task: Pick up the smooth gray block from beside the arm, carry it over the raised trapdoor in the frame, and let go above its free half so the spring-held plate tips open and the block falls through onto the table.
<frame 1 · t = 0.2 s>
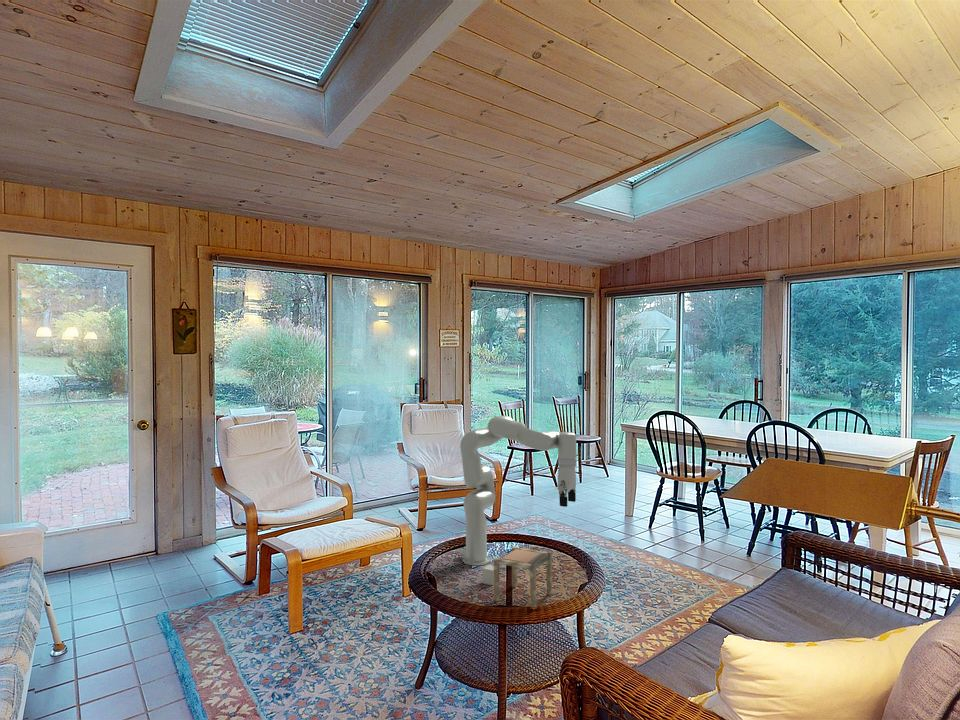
hand: (567, 503, 221), 31 cm above the table, tool pointing down, fingers open, 9 cm apart
trapdoor: (523, 556, 202), point 15 cm above the table, hinge at 0.0°
trapdoor frame: (523, 597, 202), on the table
smooth gray block: (490, 582, 217), on the table
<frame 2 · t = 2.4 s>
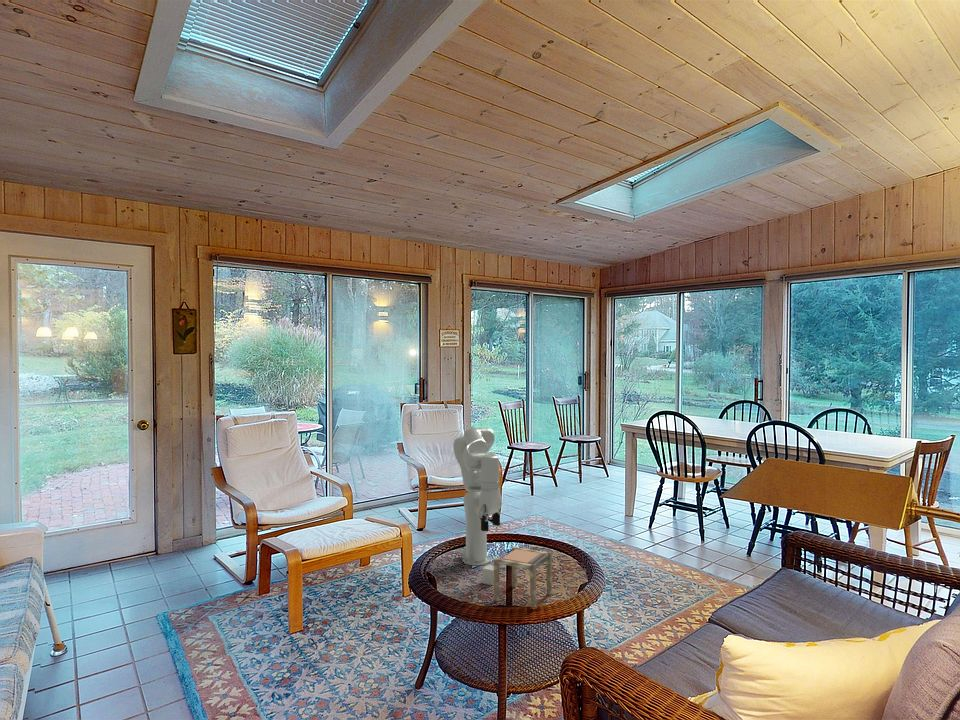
hand: (490, 528, 217), 22 cm above the table, tool pointing down, fingers open, 9 cm apart
nothing on the table moved.
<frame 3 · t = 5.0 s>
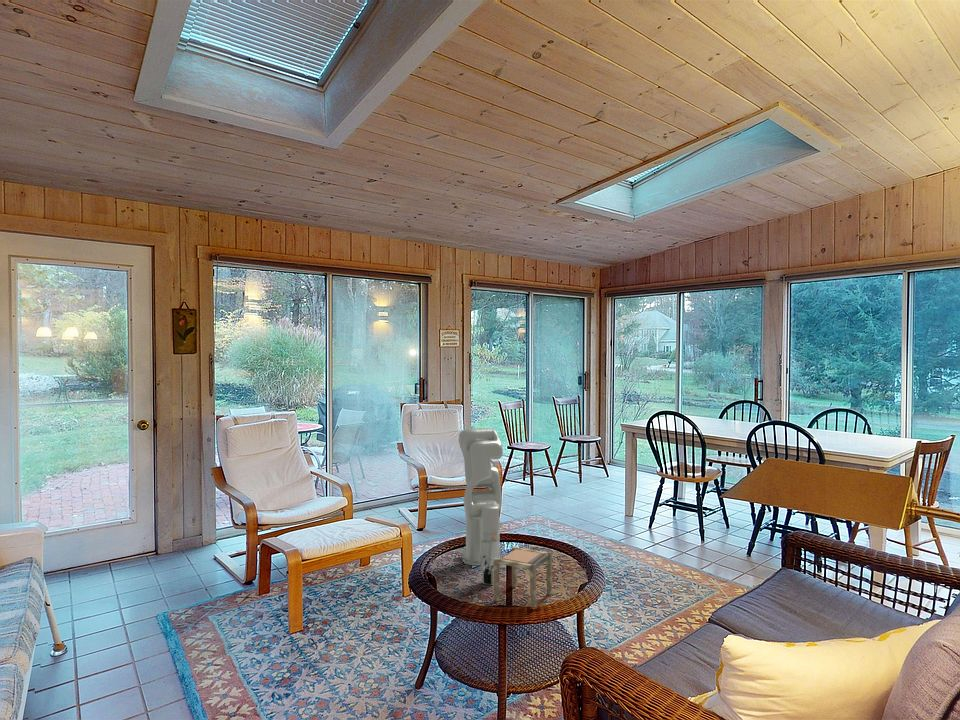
hand: (490, 580, 217), 1 cm above the table, tool pointing down, fingers closed on smooth gray block, 5 cm apart
smooth gray block: (490, 582, 217), on the table, touching gripper
everything else where it was.
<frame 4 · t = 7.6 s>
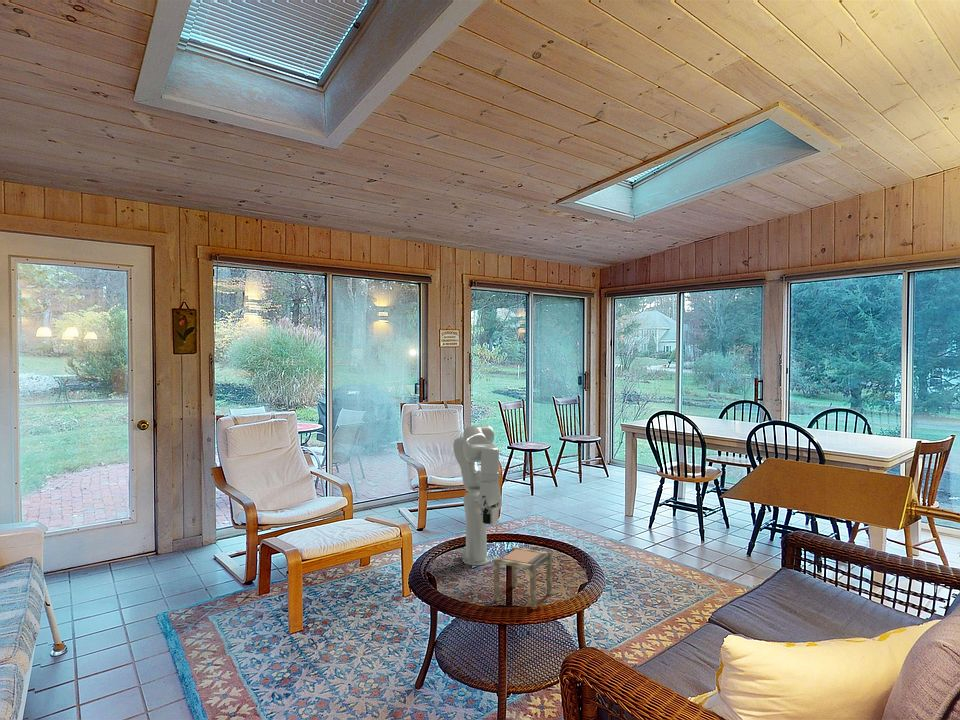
hand: (490, 521, 218), 25 cm above the table, tool pointing down, fingers closed on smooth gray block, 5 cm apart
smooth gray block: (490, 522, 218), point 24 cm above the table, touching gripper
everything else where it was.
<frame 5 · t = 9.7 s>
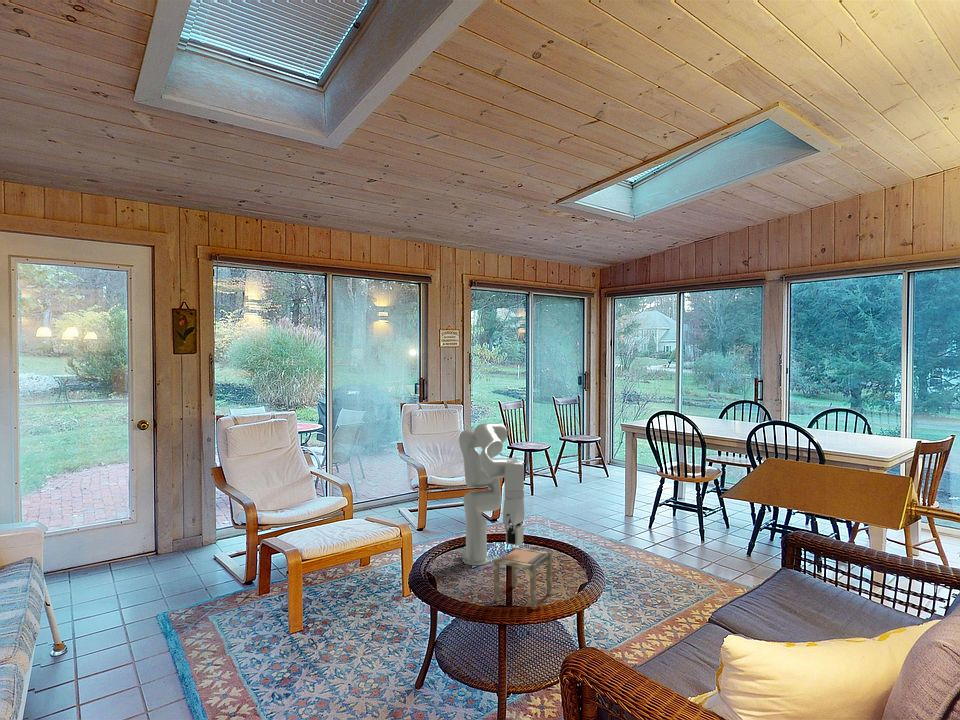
hand: (514, 541, 204), 21 cm above the table, tool pointing down, fingers closed on smooth gray block, 5 cm apart
smooth gray block: (514, 542, 204), point 20 cm above the table, touching gripper
everything else where it was.
when the fingers open (19 cm above the table, at t = 10.4 s): smooth gray block drops 16 cm and tips over, point 2 cm above the table.
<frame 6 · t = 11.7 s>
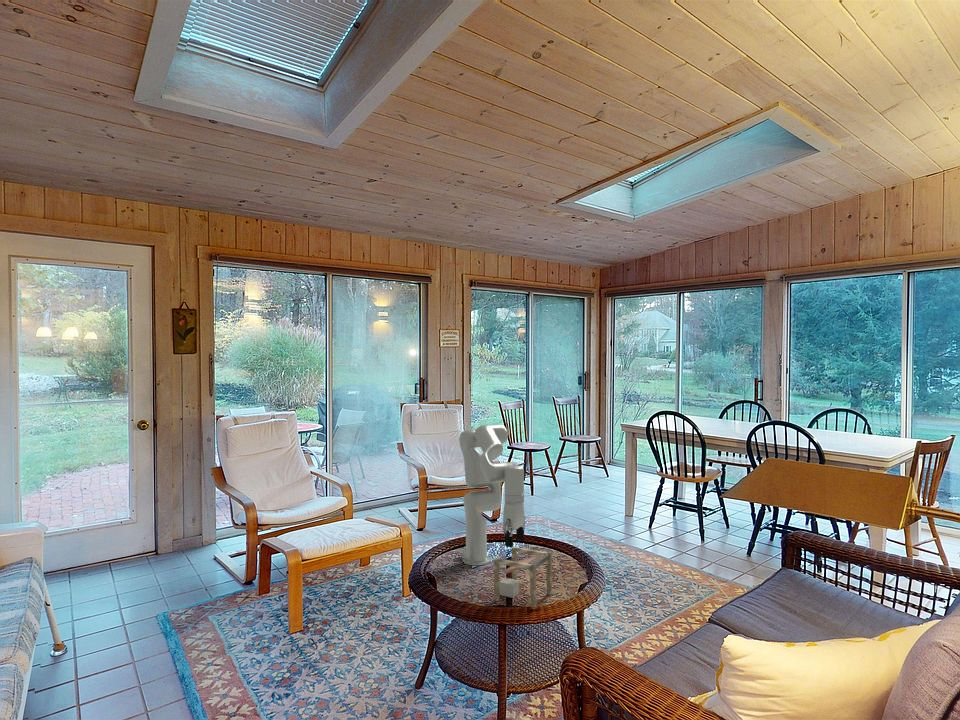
hand: (514, 543, 204), 20 cm above the table, tool pointing down, fingers open, 9 cm apart
trapdoor: (524, 563, 202), point 13 cm above the table, hinge at -23.1°
smooth gray block: (516, 589, 204), point 2 cm above the table, tilted 90°
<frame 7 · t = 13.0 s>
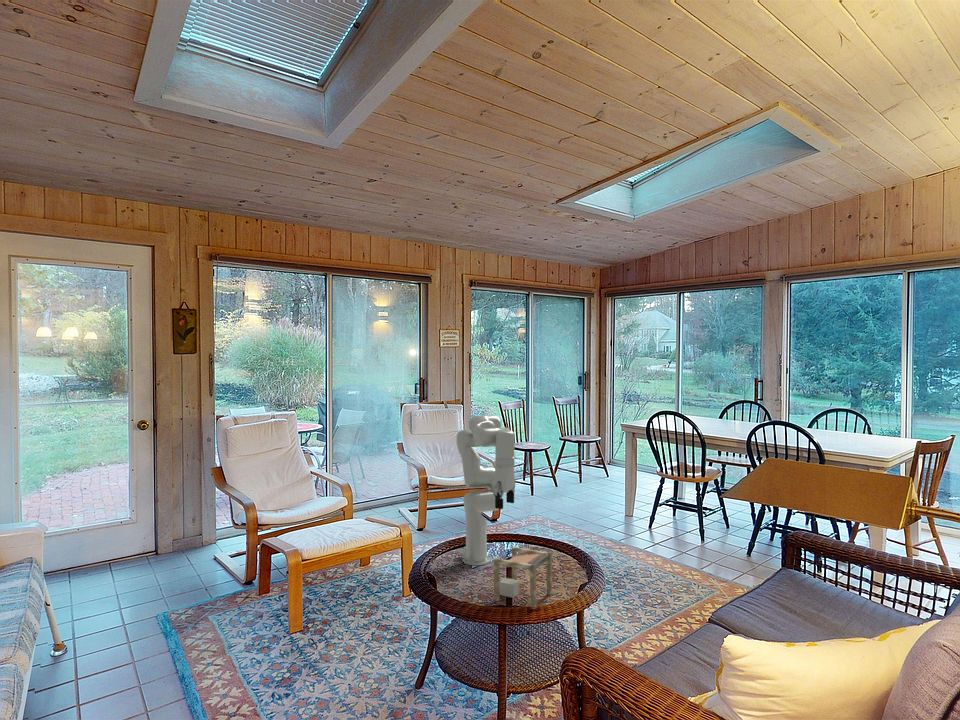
hand: (504, 505, 209), 33 cm above the table, tool pointing down, fingers open, 9 cm apart
trapdoor: (523, 560, 202), point 14 cm above the table, hinge at -11.1°
everything else where it was.
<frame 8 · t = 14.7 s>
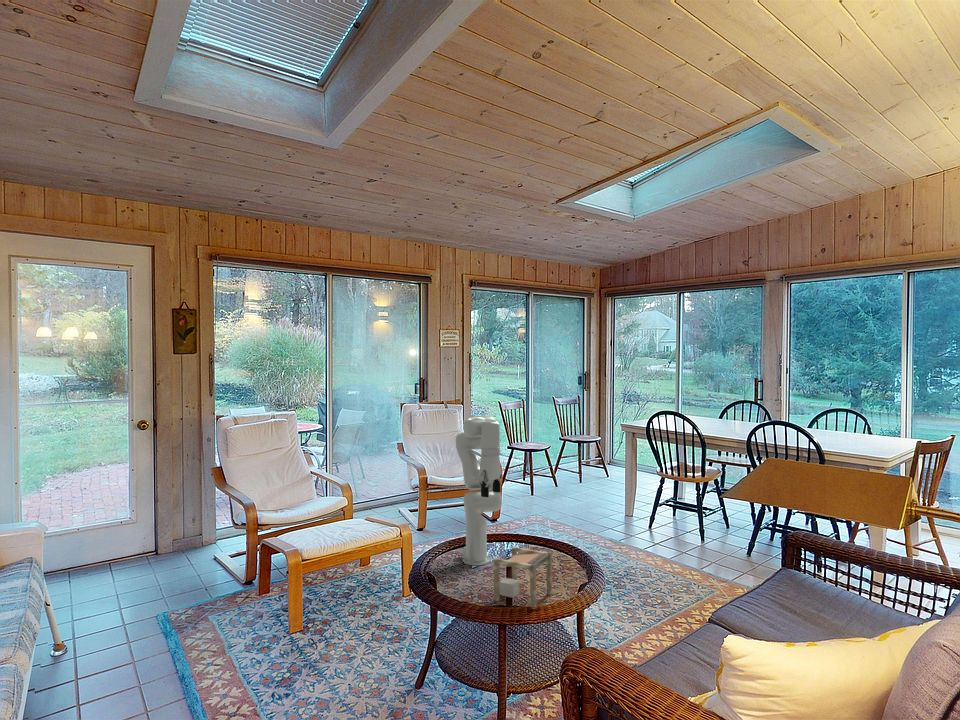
hand: (490, 494, 215), 36 cm above the table, tool pointing down, fingers open, 9 cm apart
trapdoor: (523, 559, 202), point 14 cm above the table, hinge at -9.7°
everything else where it was.
at the end: smooth gray block point 2.3 cm above the table; smooth gray block inside the target area on the table beside the trapdoor frame (7.9 cm from its centre), point 2.3 cm above the table; the gripper is holding nothing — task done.
